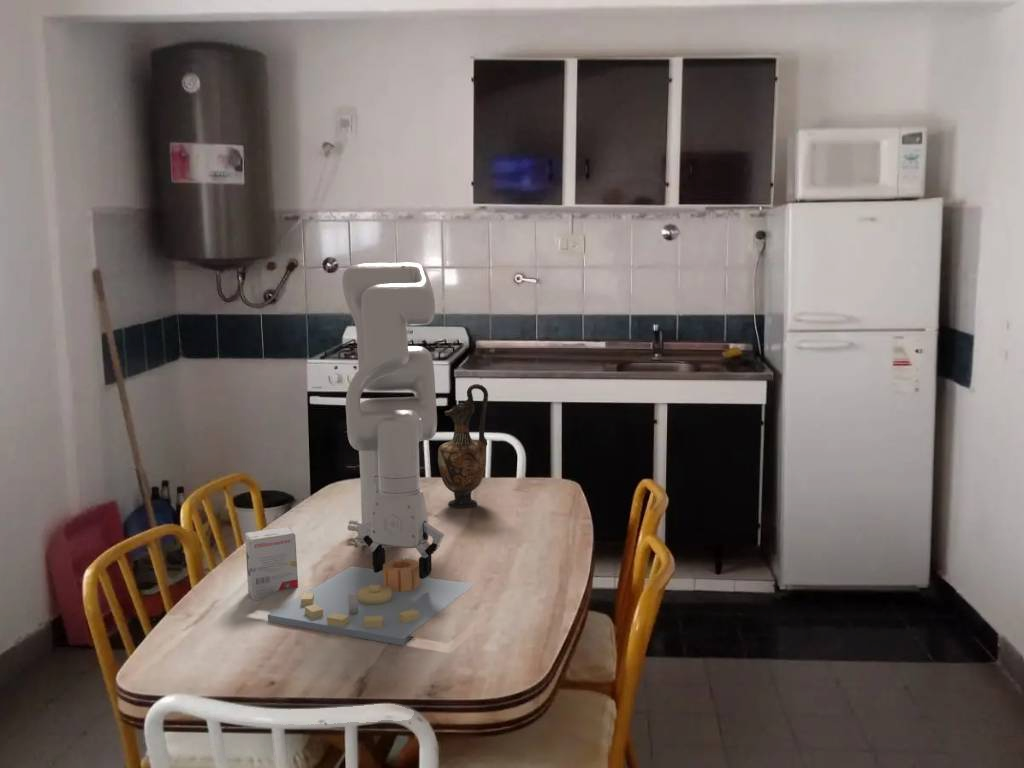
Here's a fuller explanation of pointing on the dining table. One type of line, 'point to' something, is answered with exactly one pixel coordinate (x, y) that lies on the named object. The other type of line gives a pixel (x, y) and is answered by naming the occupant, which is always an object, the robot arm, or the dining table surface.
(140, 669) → the dining table surface
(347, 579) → the carrier board
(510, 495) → the dining table surface
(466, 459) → the vase
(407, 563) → the planet gear
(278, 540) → the ink box
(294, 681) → the dining table surface
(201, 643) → the dining table surface
